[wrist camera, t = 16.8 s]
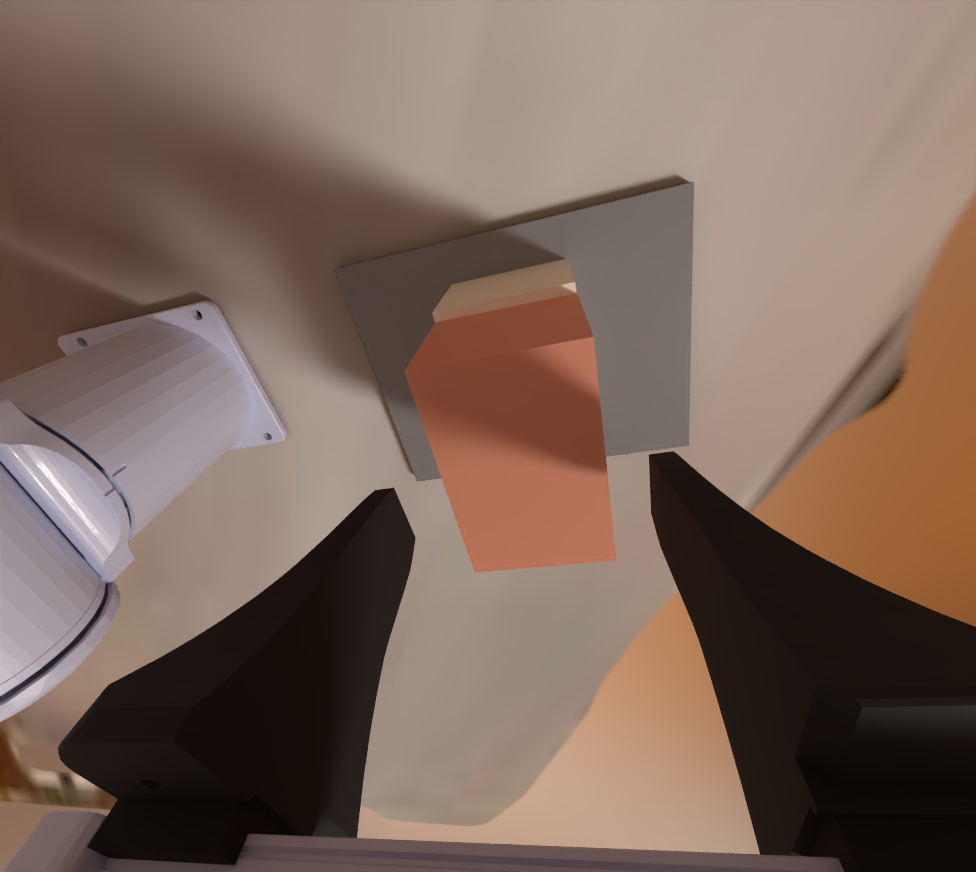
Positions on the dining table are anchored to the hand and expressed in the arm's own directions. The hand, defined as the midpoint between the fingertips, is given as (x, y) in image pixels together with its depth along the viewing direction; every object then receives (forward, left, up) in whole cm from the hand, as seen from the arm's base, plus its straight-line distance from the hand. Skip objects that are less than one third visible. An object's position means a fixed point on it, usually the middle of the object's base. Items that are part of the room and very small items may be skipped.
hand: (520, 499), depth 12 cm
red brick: (0, 0, -6) cm, 6 cm away
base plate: (0, 0, -10) cm, 10 cm away
